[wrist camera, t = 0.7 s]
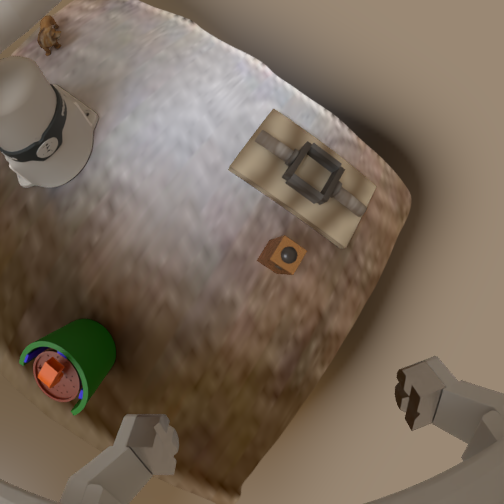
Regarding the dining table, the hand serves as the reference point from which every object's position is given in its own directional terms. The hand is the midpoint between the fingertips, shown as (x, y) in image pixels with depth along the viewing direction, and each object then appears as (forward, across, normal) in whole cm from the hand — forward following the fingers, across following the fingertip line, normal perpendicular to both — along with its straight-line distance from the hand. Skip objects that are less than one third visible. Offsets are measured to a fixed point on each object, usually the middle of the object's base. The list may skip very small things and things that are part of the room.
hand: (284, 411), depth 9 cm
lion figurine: (+49, +35, -47) cm, 76 cm away
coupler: (+40, -2, +9) cm, 41 cm away
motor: (+30, +30, +14) cm, 45 cm away
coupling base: (+46, -11, -2) cm, 47 cm away
